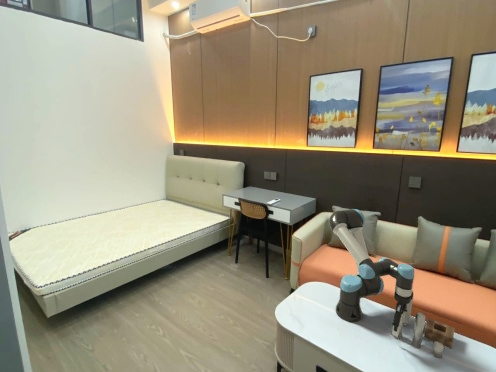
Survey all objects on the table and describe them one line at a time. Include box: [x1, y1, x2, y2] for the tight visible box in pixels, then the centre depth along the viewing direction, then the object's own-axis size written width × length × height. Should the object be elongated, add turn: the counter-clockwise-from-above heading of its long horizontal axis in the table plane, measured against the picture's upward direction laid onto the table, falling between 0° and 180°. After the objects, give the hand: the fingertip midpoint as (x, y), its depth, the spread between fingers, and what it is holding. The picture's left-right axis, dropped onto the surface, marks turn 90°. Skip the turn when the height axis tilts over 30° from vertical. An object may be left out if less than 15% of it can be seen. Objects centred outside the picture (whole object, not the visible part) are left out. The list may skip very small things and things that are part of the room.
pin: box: [392, 314, 404, 340], centre depth 142 cm, size 4×4×14 cm
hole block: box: [423, 317, 456, 350], centre depth 143 cm, size 12×10×6 cm
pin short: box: [431, 341, 445, 359], centre depth 132 cm, size 4×4×6 cm
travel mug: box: [403, 291, 414, 326], centre depth 153 cm, size 6×7×20 cm
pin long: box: [411, 312, 426, 349], centre depth 136 cm, size 4×4×18 cm
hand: (398, 328), depth 143 cm, fingers open, 13 cm apart
